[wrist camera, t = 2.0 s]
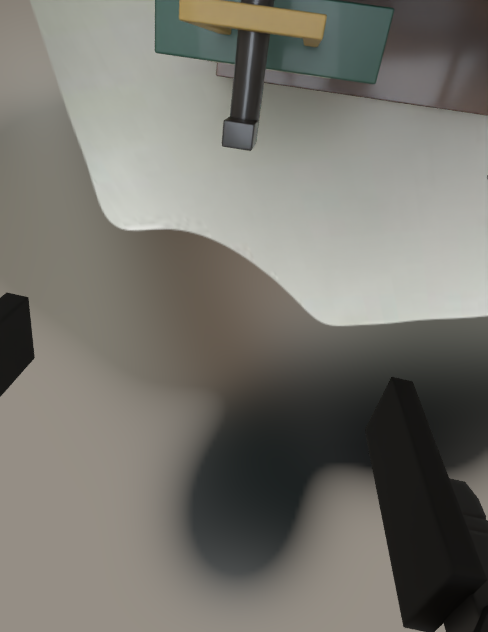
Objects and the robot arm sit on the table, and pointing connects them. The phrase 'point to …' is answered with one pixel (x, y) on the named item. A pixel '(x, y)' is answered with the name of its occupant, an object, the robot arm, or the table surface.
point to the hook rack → (395, 70)
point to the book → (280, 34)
